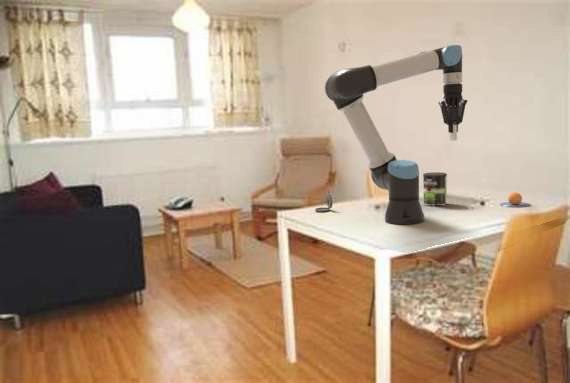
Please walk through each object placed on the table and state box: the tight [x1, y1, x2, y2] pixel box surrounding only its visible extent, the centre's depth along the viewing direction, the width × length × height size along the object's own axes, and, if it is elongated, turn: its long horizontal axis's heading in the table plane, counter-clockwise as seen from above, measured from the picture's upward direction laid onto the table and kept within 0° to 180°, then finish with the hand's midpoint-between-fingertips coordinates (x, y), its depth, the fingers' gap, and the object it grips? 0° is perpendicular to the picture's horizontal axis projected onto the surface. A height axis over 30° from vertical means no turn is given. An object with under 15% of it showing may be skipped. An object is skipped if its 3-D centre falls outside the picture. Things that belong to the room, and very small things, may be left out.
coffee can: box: [422, 171, 448, 206], centre depth 223 cm, size 10×10×14 cm
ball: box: [507, 191, 523, 205], centre depth 211 cm, size 6×6×6 cm
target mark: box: [499, 201, 532, 208], centre depth 211 cm, size 12×12×1 cm
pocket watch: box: [314, 188, 333, 213], centre depth 224 cm, size 8×8×10 cm
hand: (453, 140), depth 208 cm, fingers closed
